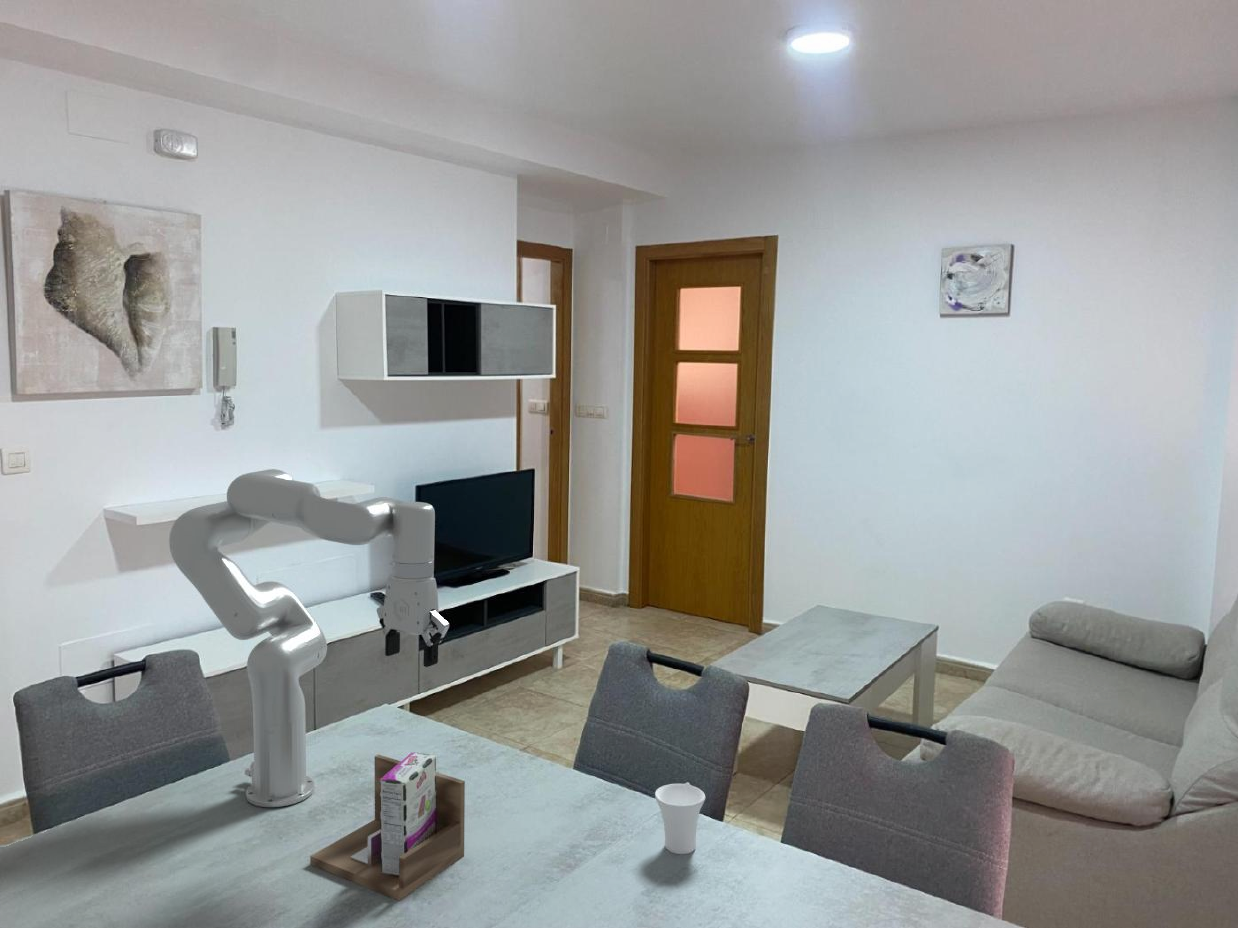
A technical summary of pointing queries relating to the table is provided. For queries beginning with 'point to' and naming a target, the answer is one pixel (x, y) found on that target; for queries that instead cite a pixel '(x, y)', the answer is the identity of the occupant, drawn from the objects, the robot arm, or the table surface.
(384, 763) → the shelf
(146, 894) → the table surface
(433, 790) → the candy bar box
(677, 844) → the cup
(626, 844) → the table surface
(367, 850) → the bookend
